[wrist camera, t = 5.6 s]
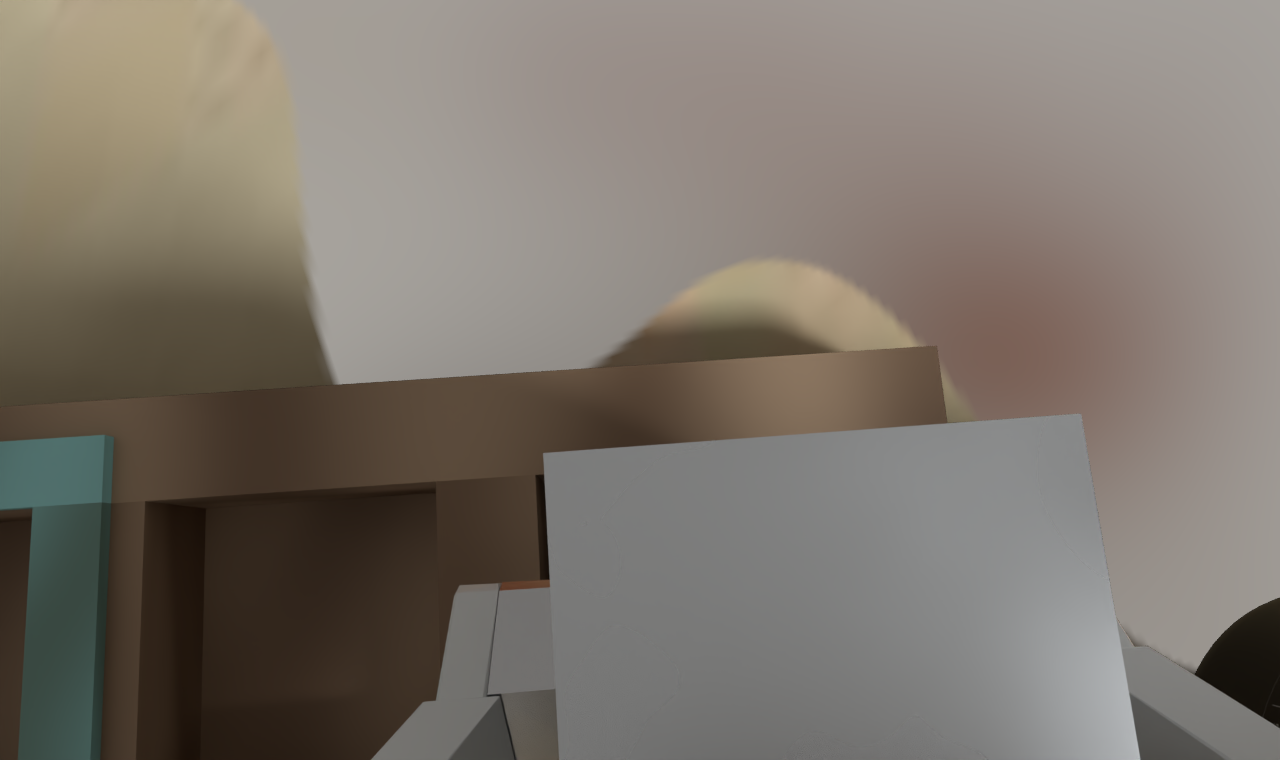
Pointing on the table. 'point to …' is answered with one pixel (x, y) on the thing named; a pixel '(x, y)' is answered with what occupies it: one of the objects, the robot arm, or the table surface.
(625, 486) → the steel peg
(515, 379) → the wooden compartment tray
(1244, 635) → the supplement bottle
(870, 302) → the table surface
